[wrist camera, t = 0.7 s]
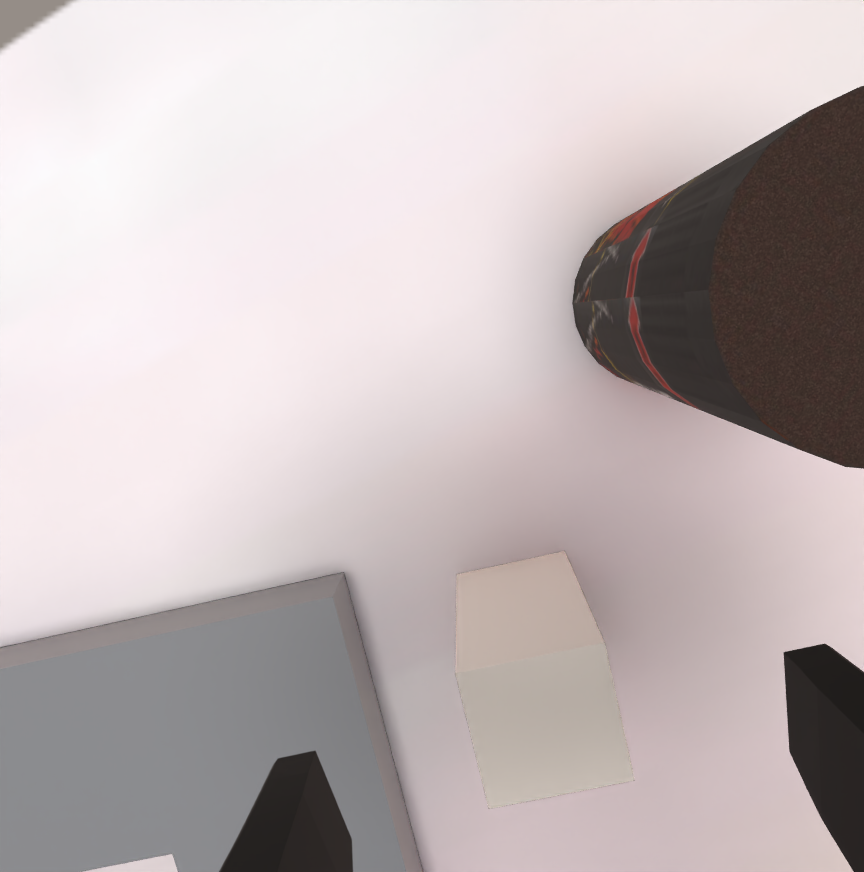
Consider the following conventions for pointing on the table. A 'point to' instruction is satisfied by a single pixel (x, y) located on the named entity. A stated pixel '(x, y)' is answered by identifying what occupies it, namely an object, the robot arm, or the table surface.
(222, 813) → the outlet plate
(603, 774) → the beige rectangular block
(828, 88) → the table surface
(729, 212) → the deodorant
